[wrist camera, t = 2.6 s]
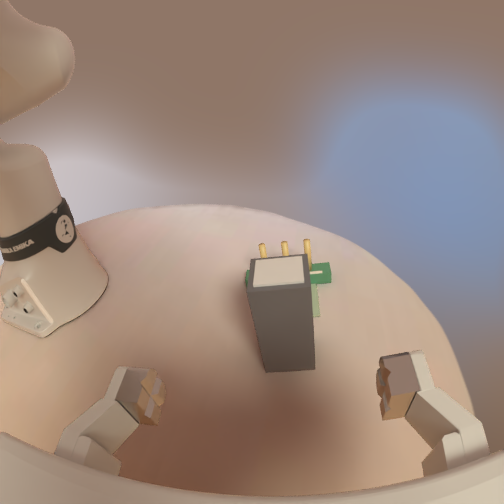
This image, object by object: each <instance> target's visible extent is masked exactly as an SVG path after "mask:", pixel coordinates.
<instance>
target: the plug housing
mask: <svg viewBox="0 0 504 504" xmlns="http://www.w3.org/2000/svg"><path fill="white" fill-rule="evenodd" d="M247 296H248V301H249V305H250V309H251V313H252V317H253V321H254V326H255V330H256V334H257V338H258V342H259V346H260V350H261V354H262V358H263V362H264V366H265V371H266V373H268V372H287V371H301V370H314V369H315V349H314V326H313V307H312V291H311V280H310V271H309V263H308V254H300V255H289V256H279V257H268V258H258V259H251V263H250V270H249V278H248V285H247Z"/></svg>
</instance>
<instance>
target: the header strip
mask: <svg viewBox="0 0 504 504" xmlns="http://www.w3.org/2000/svg"><path fill="white" fill-rule="evenodd" d="M281 247H282V254H283V256H289V252H288V244H287V241H283V242H281ZM259 250H260V255H261V258H267V254H266V248H265V244H264V243H261V244H259ZM304 252H305V254H308V263H309V271H310V280H311V284H314V283H316V284H322V283H331V270H330V265H329V262H327V263H317V264H312V262H311V249H310V240H309V239H304ZM248 278H249V270H247V272H246V279H245V281H246V286H247V285H248Z"/></svg>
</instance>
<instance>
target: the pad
mask: <svg viewBox="0 0 504 504" xmlns="http://www.w3.org/2000/svg"><path fill="white" fill-rule="evenodd" d="M311 291H312V307H313V317H318V316H320V310H319V301H318V293H317V285H316V283H314V284H311Z"/></svg>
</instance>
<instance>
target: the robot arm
mask: <svg viewBox="0 0 504 504" xmlns="http://www.w3.org/2000/svg"><path fill="white" fill-rule="evenodd" d="M74 65H75V53H74V48H73V45H72V43H71V41H70V39H69V38H68V37H67V36H66V35H65V34H64V33H63V32H62V31H60V30H59V29H57V28H54V27H48V26H43V25H40V24H37V23H34V22H32V21H30V20H28V19H26V18H25V17H23V16H21V15H20V14H19V13H18V12H17V11H16V10H15V9H14V8H13V7H12V6H11V4H10V3H9V1H8V0H0V125H2V124H3V123H5V122H7V121H9V120H11V119H13V118H15V117H17V116H19V115H20V114H22V113H24V112H26V111H28V110H30V109H32V108H35V107H37V106H39V105H40V104H42V103H43V102H45V101H46V100H48V99H49V98H51V97H52V96H54V95H55V94H57V93H58V92H60V91H61V90H63V89H64V88H65V87H66V86H67V85H68V83H69V81H70V79H71V77H72V74H73V70H74ZM0 250H1V252H2V256H3V259H4V263H3V267H2V271H1V275H0V294H1V295H2V301H3V302H4V304H5V307H4V309H3V311H2V315H1V317H2V319H3V321H4V322H6V323H8V324H10V325H13V326H15V327H17V328H19V329H22V330H24V331H26V332H29V333H31V334H34V335H36V336H38V337H41V338H43V337H46V336H48V335H49V334H50V333H52V332H53V331H54V330H55V329H57V328H58V327H59V326H61V325H63V324H65V323H67V322H69V321H71V320H73V319H75V318H76V317H78V316H80V315H81V314H83V313H84V312H85V311H86V310H88V309H89V308H90V307H91V306H92V305H93V304H94V303H95V302H96V301H97V300H98V299H99V298H100V296H101V295H102V293H103V292H104V290H105V288H106V286H107V282H108V275H107V272H106V271H105V270H104V269H103V268H102V267H101V265H100V264H99V262H98V260H97V258H96V257H95V256H94V255H92V253H91V252H90V250H89V248H88V247H87V245H86V243H85V242H84V240H83V238H82V237H81V235H80V233H79V232H78V230H77V228H76V227H75V224H74V219H73V216H72V214H71V211H70V208H69V206H68V204H67V202H66V200H65V198H62V197H61V195H60V192H59V189H58V187H57V184H56V182H55V179H54V176H53V173H52V171H51V168H50V165H49V162H48V159H47V156H46V155H45V154H44V152H43V151H42V150H41V149H40V148H38V147H36V146H34V145H29V144H7V143H5V142H4V141H3V140H2V139H1V138H0ZM379 366H380V368H379V369H378V370H377V374H376V386H377V393H378V395H379V396H380V397H381V398H382V399H381V402H380V410H381V415H382V421H383V420H390V419H396V418H402V417H405V419H406V420H407V421H408V422H409V424H410V425H411V426H412V427H413V428H414V429H415V430H416V431H417V432H418V434H419V435H420V436H421V437H422V438H423V439H424V440H425V441H426V442H427V444H428V445H429V446H430V447H431V448H432V449H433V450H432V451H431V452H430V453H429V454H428V456H427V457H426V458H425V459H424V460H423V461H422V468H423V475H424V477H421V478H418V479H413V480H409V481H405V482H401V483H396V484H391V485H386V486H381V487H375V488H369V489H363V490H356V491H348V492H340V493H330V494H318V495H301V496H246V495H229V494H217V493H207V492H199V491H191V490H184V489H178V488H172V487H166V486H161V485H156V484H151V483H146V482H141V481H137V480H133V479H129V478H125V477H121V476H119V472H120V468H121V465H122V463H121V461H120V460H118V459H117V458H116V457H114V456H113V454H114V452H115V451H116V450H117V449H118V448H119V447H120V446H121V445H122V444H123V443H124V442H125V440H126V439H127V438H128V437H129V436H130V435H131V434H132V433H133V432H134V430H135V429H136V428H137V427H138V426H139V424H145V425H155V426H158V423H159V419H160V416H161V409H160V406H161V405H162V404H163V403H164V402H165V398H166V388H165V384H164V383H163V381H162V380H161V379H159V378H157V372H156V371H155V370H154V369H151V368H136V367H125V366H119V367H118V368H117V369H116V370H115V373H114V375H113V377H112V380H111V382H110V384H109V387H108V389H107V392H106V394H105V397H104V399H100V400H98V401H97V402H96V403H95V404H94V405H92V406H91V407H90V408H89V409H88V410H86V411H85V412H84V413H83V414H82V415H80V416H79V417H78V418H77V419H76V420H74V421H73V422H72V423H71V424H70V425H68V426H67V427H66V428H65V429H64V430H63V433H62V435H61V438H60V440H59V443H58V445H57V448H56V450H55V453H54V454H52V453H49V452H47V451H44V450H42V449H40V448H37V447H35V446H33V445H31V444H28V443H26V442H24V441H22V440H20V439H18V438H16V437H14V436H12V435H10V434H8V433H6V432H0V504H504V449H502V450H500V451H497V452H495V453H493V454H490V451H489V447H488V444H487V440H486V436H485V433H484V429H483V426H482V423H481V422H480V421H479V420H477V418H475V417H474V416H473V415H472V414H471V413H470V412H468V411H467V410H466V409H465V408H464V407H462V406H461V405H460V404H459V403H458V402H456V401H455V400H454V399H453V398H452V397H450V396H449V395H448V394H447V393H446V392H444V391H443V390H442V389H441V388H439V387H436V388H435V386H434V382H433V379H432V376H431V373H430V370H429V367H428V364H427V361H426V358H425V355H424V352H423V351H422V350H417V351H412V352H404V353H399V354H394V355H388V356H382V357H380V360H379Z"/></svg>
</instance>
